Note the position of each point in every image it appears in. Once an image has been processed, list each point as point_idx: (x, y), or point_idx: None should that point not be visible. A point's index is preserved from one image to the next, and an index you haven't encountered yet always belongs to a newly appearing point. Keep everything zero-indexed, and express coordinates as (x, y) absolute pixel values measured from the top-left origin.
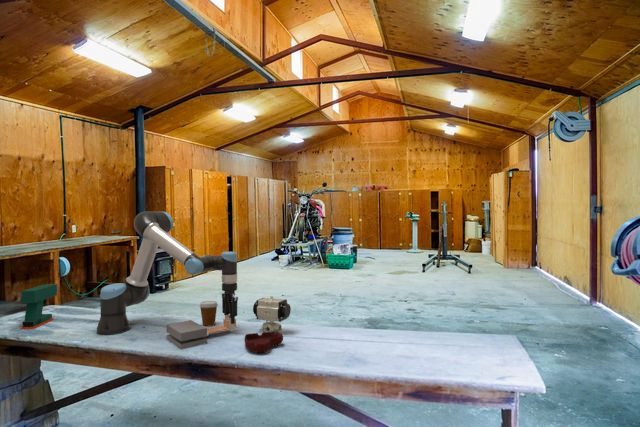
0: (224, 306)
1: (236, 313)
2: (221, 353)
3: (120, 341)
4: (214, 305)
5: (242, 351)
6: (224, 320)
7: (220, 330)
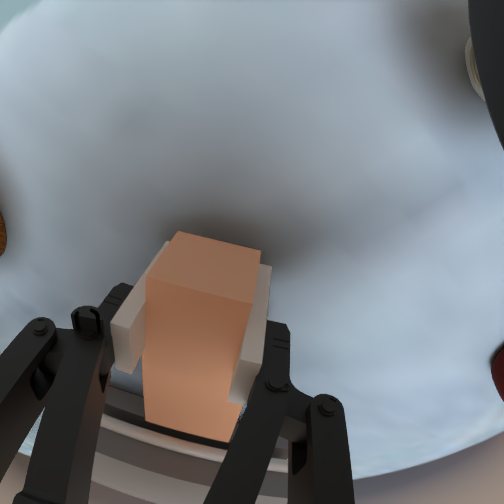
0: (27, 418)
1: (342, 437)
2: (432, 442)
3: None
4: None
5: (497, 399)
6: (172, 366)
7: None
